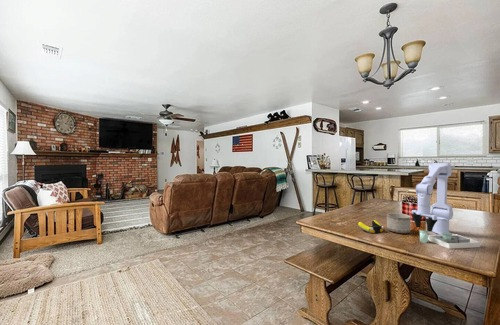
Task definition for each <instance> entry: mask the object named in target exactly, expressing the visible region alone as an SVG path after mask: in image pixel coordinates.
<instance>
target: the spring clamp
mask: <svg viewBox="0 0 500 325" xmlns="http://www.w3.org/2000/svg"><path fill="white" fill-rule="evenodd" d="M357 226H358V227H359V228H360V229H362V230H363V231H365V232H366V233H368V234H375V233H376V234H377V233H382V232H383V231H384V225H381V224H380V222H378V220H372V221H371V226H368V225H367V224H364V223H363V222H362V221H359V222H358V224H357Z"/></svg>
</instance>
